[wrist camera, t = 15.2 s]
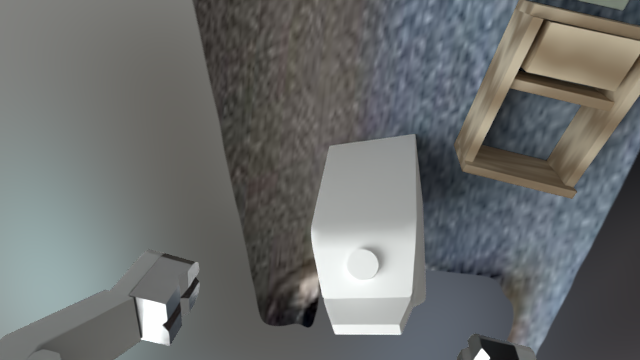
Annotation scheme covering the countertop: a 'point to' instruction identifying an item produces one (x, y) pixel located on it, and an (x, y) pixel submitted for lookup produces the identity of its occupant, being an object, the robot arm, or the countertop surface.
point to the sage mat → (609, 3)
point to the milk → (370, 235)
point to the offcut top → (581, 55)
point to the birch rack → (587, 125)
